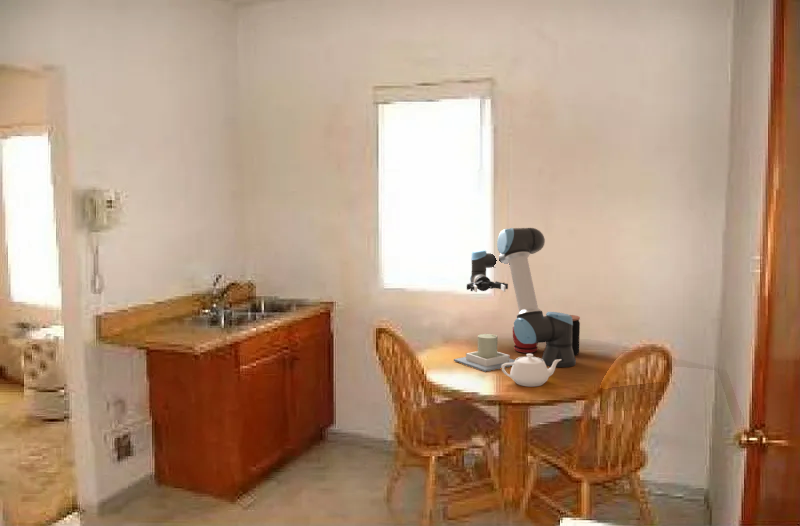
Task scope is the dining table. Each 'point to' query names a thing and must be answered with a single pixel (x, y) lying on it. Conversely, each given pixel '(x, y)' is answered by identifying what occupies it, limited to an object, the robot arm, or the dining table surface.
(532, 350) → the plant pot
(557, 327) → the robot arm
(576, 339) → the coffee jar
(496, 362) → the tray
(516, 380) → the teapot
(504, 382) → the dining table surface
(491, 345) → the can
